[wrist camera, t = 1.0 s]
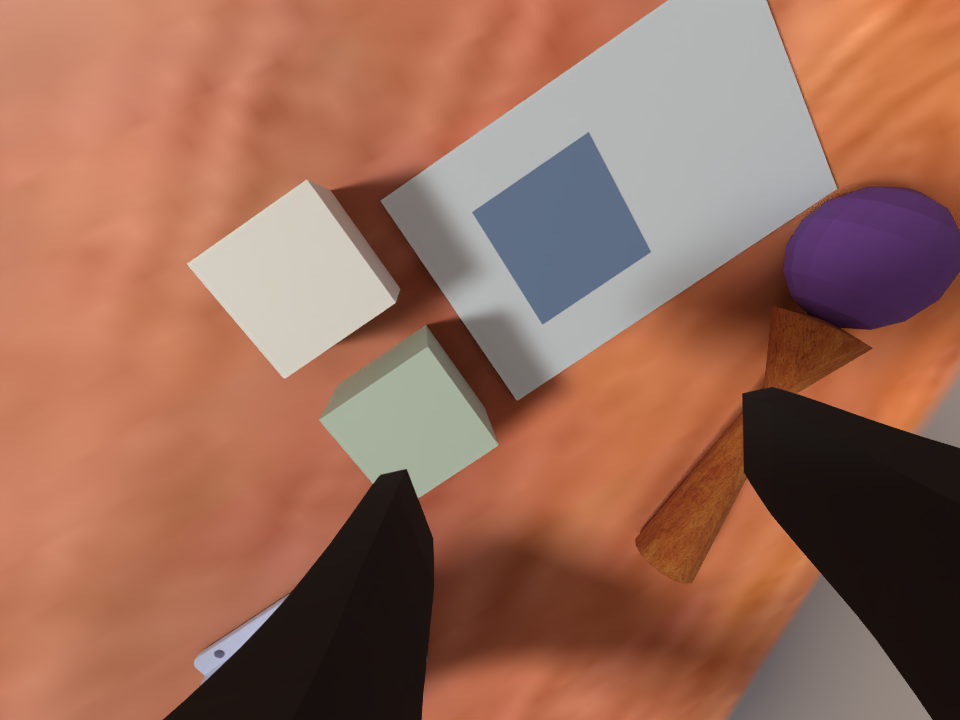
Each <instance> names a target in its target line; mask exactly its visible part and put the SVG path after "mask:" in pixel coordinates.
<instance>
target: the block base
mask: <svg viewBox="0 0 960 720" xmlns="http://www.w3.org/2000/svg"><path fill="white" fill-rule="evenodd" d="M319 421H320V422H321V423H322V424H323V425H324V427H325V428H326V429H327V430H328V431H329V432H330V434H331V435H332V436H333V437H334V438H335V440H336V441H337V442H338V443H339V444H340V445H341V447H342V448H343V449H344V450H345V451H346V452H347V454H348V455H349V456H350V457H351V458H352V460H353V461H354V462H355V463H356V464H357V465H358V467H359V468H360V469H361V470H362V471H363V473H364V474H365V475H366V476H367V477H368V478H369V480H370V481H371V482H372V483H374V482H375V481H376V479H377V478H378V477H379V475H381V474H386V473H390V472H395V471H399V470H404V469H407V471H408V473H409V476H410V479H411V481H412V484H413V486H414V489H415V492H416V494H417V497H418V498H419V497H421V496H422V495H424V494H425V493H427V492H429V491H430V490H432V489H433V488H435V487H436V486H438V485H439V484H441V483H442V482H444V481H445V480H447V479H448V478H450V477H451V476H453V475H454V474H456V473H457V472H459V471H460V470H462V469H463V468H465V467H466V466H468V465H469V464H471V463H472V462H474V461H476V460H477V459H479V458H480V457H482V456H483V455H485V454H486V453H488V452H489V451H491V450H492V449H494V448H495V447H497V446H498V442H497V439H496V437H495V434H494V431H493V429H492V426H491V423H490V421H489V418H488V415H487V412H486V410H485V407H484V406H483V404H482V403H481V401H480V400H479V399H478V397H477V396H476V394H475V393H474V392H473V390H472V389H471V387H470V386H469V385H468V383H467V382H466V380H465V379H464V378H463V376H462V375H461V373H460V372H459V370H458V369H457V368H456V366H455V365H454V363H453V362H452V361H451V359H450V358H449V356H448V355H447V354H446V352H445V351H444V349H443V348H442V347H441V345H440V344H439V342H438V341H437V339H436V338H435V337H434V335H433V334H432V332H431V331H430V330H429V328H428V327H427V325H425V326H423V327H422V328H421V329H419V330H418V331H416V332H415V333H413V334H412V335H410V336H409V337H407V338H406V339H404V340H403V341H401V342H400V343H398V344H397V345H395V346H394V347H392V348H391V349H390V350H388V351H387V352H385V353H384V354H382V355H381V356H379V357H378V358H376V359H375V360H373V361H372V362H370V363H369V364H367V365H366V366H364V367H363V368H361V369H360V370H359V371H357V372H356V373H354V374H353V375H351V376H350V377H348V378H347V379H345V380H344V381H342V382H341V383H339V384H338V385H337V387H336V389H335V391H334V393H333V395H332V397H331V398H330V400H329V402H328V404H327V406H326V408H325V410H324V412H323V413H322V415H321V417H320V419H319Z"/></svg>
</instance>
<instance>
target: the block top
mask: <svg viewBox="0 0 960 720" xmlns="http://www.w3.org/2000/svg"><path fill="white" fill-rule="evenodd" d="M187 265H188V266H189V267H190V268H191V270H192V271H193V272H194V273H195V274H196V276H197V277H198V278H199V279H200V280H201V281H202V283H203V284H204V285H205V286H206V287H207V288H208V290H209V291H210V292H211V293H212V294H213V296H214V297H215V298H216V299H217V300H218V301H219V303H220V304H221V305H222V306H223V307H224V309H225V310H226V311H227V312H228V313H229V314H230V316H231V317H232V318H233V319H234V320H235V322H236V323H237V324H238V325H239V326H240V327H241V329H242V330H243V331H244V332H245V333H246V334H247V336H248V337H249V338H250V339H251V340H252V342H253V343H254V344H255V345H256V346H257V347H258V349H259V350H260V351H261V352H262V353H263V355H264V356H265V357H266V358H267V359H268V360H269V362H270V363H271V364H272V365H273V366H274V368H275V369H276V370H277V371H278V372H279V373H280V375H281V376H282V377H283V378H284V379H285V378H286V377H288V376H289V375H291V374H292V373H294V372H295V371H297V370H298V369H300V368H301V367H303V366H304V365H306V364H307V363H308V362H310V361H311V360H313V359H314V358H316V357H317V356H319V355H320V354H322V353H323V352H325V351H326V350H328V349H329V348H330V347H332V346H333V345H335V344H336V343H338V342H339V341H341V340H342V339H344V338H345V337H347V336H348V335H349V334H351V333H352V332H354V331H355V330H357V329H358V328H360V327H361V326H363V325H364V324H366V323H367V322H369V321H370V320H371V319H373V318H374V317H376V316H377V315H379V314H380V313H382V312H383V311H385V310H386V309H388V308H389V307H390V306H392V305H393V304H395V303H396V301H397V298H398V295H399V292H400V288H399V286H398V285H397V283H396V282H395V280H394V279H393V278H392V276H391V275H390V273H389V272H388V271H387V269H386V268H385V266H384V265H383V264H382V262H381V261H380V259H379V258H378V257H377V255H376V254H375V252H374V251H373V249H372V248H371V247H370V245H369V244H368V242H367V241H366V240H365V238H364V237H363V235H362V234H361V233H360V231H359V230H358V228H357V227H356V226H355V224H354V223H353V221H352V220H351V219H350V217H349V216H348V214H347V213H346V211H345V210H344V209H343V207H342V206H341V204H340V203H339V202H338V200H337V199H336V197H335V196H334V195H333V193H332V192H331V190H329V189H326V188H324V187H322V186H320V185H318V184H316V183H314V182H311V181H309V180H305V181H304V182H303V183H301V184H300V185H298V186H297V187H296V188H294V189H293V190H291V191H290V192H288V193H287V194H286V195H284V196H283V197H281V198H280V199H278V200H277V201H276V202H274V203H273V204H271V205H270V206H269V207H267V208H266V209H264V210H263V211H261V212H260V213H259V214H257V215H256V216H254V217H253V218H251V219H250V220H249V221H247V222H246V223H244V224H243V225H242V226H240V227H239V228H237V229H236V230H234V231H233V232H232V233H230V234H229V235H227V236H226V237H224V238H223V239H222V240H220V241H219V242H217V243H216V244H215V245H213V246H212V247H210V248H209V249H207V250H206V251H205V252H203V253H202V254H200V255H199V256H197V257H196V258H195V259H193V260H192V261H190V262H189V263H188V264H187Z"/></svg>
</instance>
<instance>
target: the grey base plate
mask: <svg viewBox="0 0 960 720" xmlns="http://www.w3.org/2000/svg"><path fill="white" fill-rule="evenodd" d="M836 189H837V187H836V184H835V182H834V179H833V176H832V174H831V171H830V168H829V166H828V163H827V160H826V158H825V155H824V152H823V150H822V147H821V144H820V142H819V139H818V136H817V134H816V131H815V128H814V126H813V123H812V120H811V118H810V115H809V112H808V110H807V107H806V104H805V102H804V99H803V96H802V94H801V91H800V88H799V86H798V83H797V80H796V78H795V75H794V72H793V70H792V67H791V64H790V62H789V59H788V56H787V54H786V51H785V48H784V46H783V43H782V40H781V38H780V35H779V32H778V30H777V27H776V25H775V22H774V19H773V17H772V14H771V11H770V9H769V6H768V3H767V1H766V0H668V1H666V2H665V3H663V4H662V5H661V6H659V7H658V8H656V9H655V10H653V11H652V12H651V13H649V14H648V15H646V16H645V17H643V18H642V19H640V20H639V21H638V22H636V23H635V24H633V25H632V26H630V27H629V28H628V29H626V30H625V31H623V32H622V33H620V34H619V35H618V36H616V37H615V38H613V39H612V40H610V41H609V42H607V43H606V44H605V45H603V46H602V47H600V48H599V49H597V50H596V51H595V52H593V53H592V54H590V55H589V56H587V57H586V58H584V59H583V60H582V61H580V62H579V63H577V64H576V65H574V66H573V67H572V68H570V69H569V70H567V71H566V72H564V73H563V74H562V75H560V76H559V77H557V78H556V79H554V80H553V81H551V82H550V83H549V84H547V85H546V86H544V87H543V88H541V89H540V90H539V91H537V92H536V93H534V94H533V95H531V96H530V97H528V98H527V99H526V100H524V101H523V102H521V103H520V104H518V105H517V106H516V107H514V108H513V109H511V110H510V111H508V112H507V113H506V114H504V115H503V116H501V117H500V118H498V119H497V120H495V121H494V122H493V123H491V124H490V125H488V126H487V127H485V128H484V129H483V130H481V131H480V132H478V133H477V134H475V135H474V136H472V137H471V138H470V139H468V140H467V141H465V142H464V143H462V144H461V145H460V146H458V147H457V148H455V149H454V150H452V151H451V152H449V153H448V154H447V155H445V156H444V157H442V158H441V159H439V160H438V161H437V162H435V163H434V164H432V165H431V166H429V167H428V168H427V169H425V170H424V171H422V172H421V173H419V174H418V175H416V176H415V177H414V178H412V179H411V180H409V181H408V182H406V183H405V184H404V185H402V186H401V187H399V188H398V189H396V190H395V191H393V192H392V193H391V194H389V195H388V196H386V197H385V198H383V199H382V200H381V203H382V204H383V206H384V207H385V209H386V210H387V212H388V213H389V214H390V216H391V217H392V219H393V220H394V222H395V223H396V225H397V226H398V228H399V229H400V231H401V232H402V233H403V235H404V236H405V238H406V239H407V241H408V242H409V244H410V245H411V247H412V248H413V250H414V251H415V253H416V254H417V255H418V257H419V258H420V260H421V261H422V263H423V264H424V266H425V267H426V269H427V270H428V272H429V273H430V275H431V276H432V277H433V279H434V280H435V282H436V283H437V285H438V286H439V288H440V289H441V291H442V292H443V294H444V295H445V296H446V298H447V299H448V301H449V302H450V304H451V305H452V307H453V308H454V310H455V311H456V313H457V314H458V316H459V317H460V318H461V320H462V321H463V323H464V324H465V326H466V327H467V329H468V330H469V332H470V333H471V335H472V336H473V337H474V339H475V340H476V342H477V343H478V345H479V346H480V348H481V349H482V351H483V352H484V354H485V355H486V357H487V358H488V359H489V361H490V362H491V364H492V365H493V367H494V368H495V370H496V371H497V373H498V374H499V376H500V377H501V378H502V380H503V381H504V383H505V384H506V386H507V387H508V389H509V390H510V392H511V393H512V395H513V396H514V398H515V399H516V400H517V401H518V400H519V399H521V398H522V397H524V396H525V395H527V394H528V393H530V392H531V391H533V390H534V389H536V388H537V387H539V386H540V385H542V384H543V383H545V382H546V381H548V380H550V379H551V378H553V377H554V376H556V375H557V374H559V373H560V372H562V371H563V370H565V369H566V368H568V367H569V366H571V365H572V364H574V363H575V362H577V361H578V360H580V359H581V358H583V357H584V356H586V355H587V354H589V353H590V352H592V351H593V350H595V349H596V348H598V347H599V346H601V345H602V344H604V343H605V342H607V341H608V340H610V339H611V338H613V337H614V336H616V335H617V334H619V333H620V332H622V331H623V330H625V329H626V328H628V327H629V326H631V325H632V324H634V323H636V322H637V321H639V320H640V319H642V318H643V317H645V316H646V315H648V314H649V313H651V312H652V311H654V310H655V309H657V308H658V307H660V306H661V305H663V304H664V303H666V302H667V301H669V300H670V299H672V298H673V297H675V296H676V295H678V294H679V293H681V292H682V291H684V290H685V289H687V288H688V287H690V286H691V285H693V284H694V283H696V282H697V281H699V280H700V279H702V278H703V277H705V276H706V275H708V274H709V273H711V272H712V271H714V270H715V269H717V268H719V267H720V266H722V265H723V264H725V263H726V262H728V261H729V260H731V259H732V258H734V257H735V256H737V255H738V254H740V253H741V252H743V251H744V250H746V249H747V248H749V247H750V246H752V245H753V244H755V243H756V242H758V241H759V240H761V239H762V238H764V237H765V236H767V235H768V234H770V233H771V232H773V231H774V230H776V229H777V228H779V227H780V226H782V225H783V224H785V223H786V222H788V221H789V220H791V219H792V218H794V217H795V216H797V215H798V214H800V213H802V212H803V211H805V210H806V209H808V208H809V207H811V206H812V205H814V204H815V203H817V202H818V201H820V200H821V199H823V198H824V197H826V196H827V195H829V194H830V193H832V192H833V191H835V190H836Z"/></svg>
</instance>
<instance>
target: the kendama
mask: <svg viewBox="0 0 960 720" xmlns="http://www.w3.org/2000/svg"><path fill="white" fill-rule="evenodd" d="M959 272H960V232H959V230H958V227H957V225H956V223H955V221H954V219H953V216H952V215H951V213H950V212H949V210H948V209H947V208H945V207H944V206H942V205H941V204H939V203H937V202H936V201H934V200H932V199H931V198H929V197H927V196H926V195H924V194H922V193H920V192H918V191H915V190H912V189H907V188H896V187H866V188H863V189H860V190H857V191H854V192H852V193H849V194H846V195H843V196H840V197H838V198H835V199H832V200H829V201H827V202H825V203H824V204H823V205H822V206H820V207H819V208H818V209H816V210H815V211H814V212H813V213H811V214H810V215H809V216H807V217H806V218H805V219H804V220H802V221H801V223H800V225H799V226H798V228H797V229H796V231H795V233H794V234H793V236H792V237H791V239H790V241H789V242H788V244H787V246H786V253H785V260H784V267H783V273H784V276H785V279H786V282H787V285H788V288H789V291H790V295H791V298H792V299H793V300H794V301H795V302H796V303H797V304H798V305H799V306H800V307H801V308H802V309H803V310H804V311H805V312H807V313H808V314H809V315H807V314H803V313H799V312H795V311H792V310H788V309H784V308H780V307H775V306H772V315H771V325H770V334H769V344H768V353H767V363H766V373H765V382H764V387H763V389H765V388H769V387H775V388H779V389H782V390H786V391H789V392H792V393H795V394H796V393H798V392H800V391H801V390H803V389H805V388H806V387H808V386H810V385H811V384H813V383H815V382H816V381H818V380H820V379H822V378H823V377H825V376H827V375H828V374H830V373H832V372H833V371H835V370H837V369H838V368H840V367H842V366H844V365H845V364H847V363H849V362H850V361H852V360H854V359H855V358H857V357H859V356H860V355H862V354H864V353H866V352H867V351H869V350H871V349H872V347H870V346H868V345H867V344H865V343H864V342H862V341H860V340H859V339H857V338H855V337H854V336H852V335H850V334H849V333H847V332H845V331H844V330H842V329H840V328H853V329H868V330H871V329H875V328H879V327H883V326H887V325H891V324H895V323H899V322H903V321H906V320H907V319H909V318H911V317H912V316H914V315H915V314H917V313H918V312H920V311H922V310H923V309H925V308H926V307H928V306H929V305H931V304H933V303H934V302H936V301H937V300H939V299H940V298H941V296H942V295H943V294H944V292H945V291H946V289H947V288H948V287H949V285H950V284H951V283H952V281H953V280H954V279H955V277H956V276H957V274H958V273H959ZM746 478H747V477H746V475H745V473H744V460H743V412H742V413H741V415H740V416H739V417H738V418H737V419H736V421H735V422H734V423H733V424H732V425H731V426H730V428H729V429H728V430H727V431H726V432H725V434H724V435H723V436H722V437H721V438H720V439H719V441H718V442H717V443H716V444H715V445H714V447H713V448H712V449H711V450H710V451H709V452H708V454H707V455H706V456H705V457H704V458H703V460H702V461H701V462H700V463H699V464H698V465H697V467H696V468H695V469H694V470H693V471H692V473H691V474H690V475H689V476H688V477H687V478H686V480H685V481H684V482H683V483H682V484H681V486H680V487H679V488H678V489H677V490H676V491H675V493H674V494H673V495H672V496H671V497H670V499H669V500H668V501H667V502H666V503H665V504H664V506H663V507H662V508H661V509H660V510H659V512H658V513H657V514H656V515H655V516H654V517H653V519H652V520H651V521H650V522H649V523H648V525H647V526H646V527H645V528H644V529H643V530H642V532H641V533H640V534H639V535H638V536H637V538H636V539H635V541H636V546H637V548H638V550H639V552H640V553H641V555H642V556H643V557H644V558H645V559H646V560H647V561H648V562H649V564H651V565H652V566H653V567H654V568H656V569H657V570H658V571H659V572H661V573H662V574H664V575H666V576H667V577H669V578H671V579H673V580H675V581H678V582H681V583H684V584H686V583H692V582H693V580H694V578H695V576H696V574H697V573H698V571H699V569H700V567H701V565H702V563H703V561H704V559H705V557H706V555H707V553H708V551H709V549H710V547H711V545H712V544H713V542H714V540H715V538H716V536H717V534H718V532H719V530H720V528H721V526H722V524H723V522H724V520H725V518H726V516H727V515H728V513H729V511H730V509H731V507H732V505H733V503H734V501H735V499H736V497H737V495H738V493H739V491H740V489H741V487H742V486H743V484H744V482H745V480H746Z"/></svg>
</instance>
